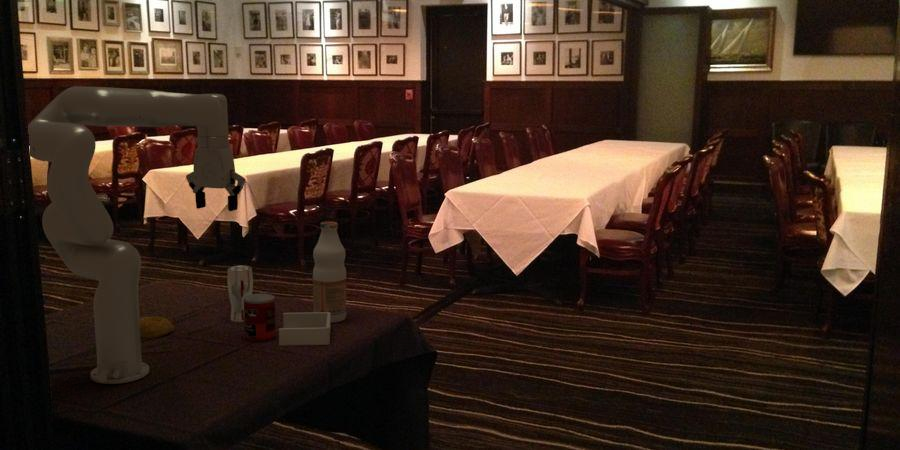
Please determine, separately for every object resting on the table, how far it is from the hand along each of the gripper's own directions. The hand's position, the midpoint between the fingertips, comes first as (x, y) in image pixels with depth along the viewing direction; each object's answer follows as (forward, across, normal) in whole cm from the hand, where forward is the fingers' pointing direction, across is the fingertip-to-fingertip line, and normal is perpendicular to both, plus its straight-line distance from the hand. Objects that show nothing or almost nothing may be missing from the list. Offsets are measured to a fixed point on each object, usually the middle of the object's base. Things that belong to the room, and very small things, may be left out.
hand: (216, 209), depth 212 cm
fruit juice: (+35, +19, +24) cm, 47 cm away
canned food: (+35, +10, +2) cm, 36 cm away
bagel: (+35, -18, -5) cm, 40 cm away
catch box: (+34, +21, +8) cm, 41 cm away
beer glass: (+35, -4, +14) cm, 38 cm away
